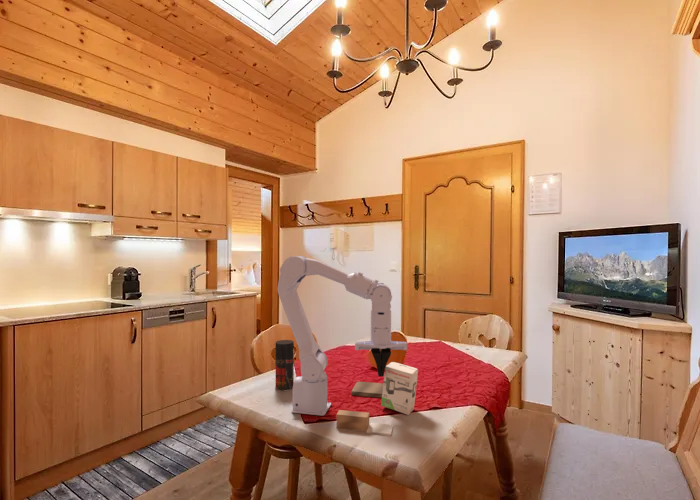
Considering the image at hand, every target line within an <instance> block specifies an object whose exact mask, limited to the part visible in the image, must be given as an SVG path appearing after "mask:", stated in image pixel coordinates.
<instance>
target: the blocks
mask: <svg viewBox="0 0 700 500" xmlns="http://www.w3.org/2000/svg"><path fill="white" fill-rule="evenodd" d="M336 429H342V430H343V429H345V430H351V431H352V430H353V431H362V432H366V434H369V435H378V436H388V437H392V433H393V429H394V424H389V423H387V424H386V423H377V422H370V412H365V411H357V410H356V411H353V410H346V409H345V410H343V409H338V411H337V413H336Z"/></svg>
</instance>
